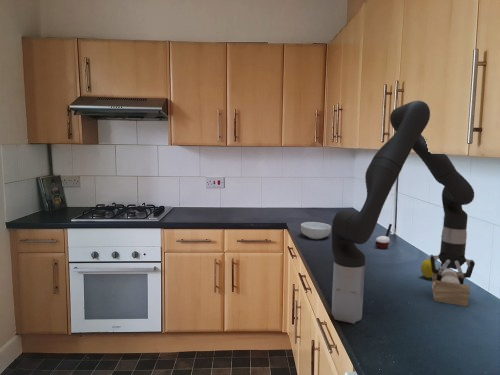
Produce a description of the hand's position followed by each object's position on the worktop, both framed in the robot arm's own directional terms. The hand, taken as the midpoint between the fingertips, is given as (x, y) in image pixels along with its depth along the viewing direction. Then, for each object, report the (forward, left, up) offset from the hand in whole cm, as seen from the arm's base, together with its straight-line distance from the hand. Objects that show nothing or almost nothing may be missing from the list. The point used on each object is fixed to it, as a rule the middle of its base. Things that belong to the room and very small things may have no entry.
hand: (449, 285), depth 127 cm
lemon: (+15, +6, -4) cm, 16 cm away
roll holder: (0, 0, -4) cm, 4 cm away
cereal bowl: (+55, +61, -4) cm, 82 cm away
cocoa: (+50, +25, -4) cm, 56 cm away
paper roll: (0, 0, +2) cm, 2 cm away
